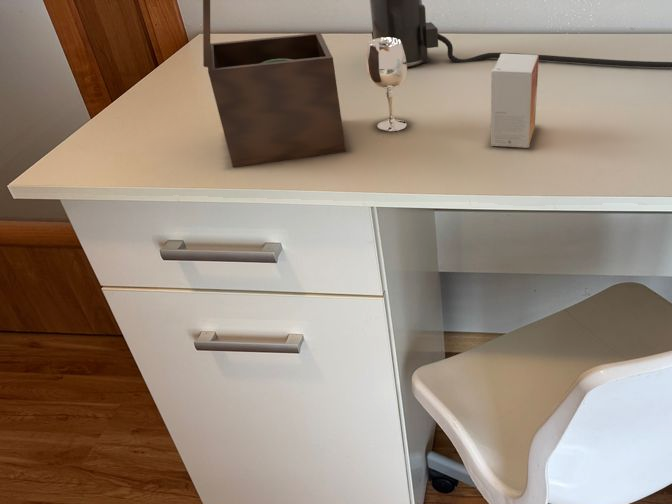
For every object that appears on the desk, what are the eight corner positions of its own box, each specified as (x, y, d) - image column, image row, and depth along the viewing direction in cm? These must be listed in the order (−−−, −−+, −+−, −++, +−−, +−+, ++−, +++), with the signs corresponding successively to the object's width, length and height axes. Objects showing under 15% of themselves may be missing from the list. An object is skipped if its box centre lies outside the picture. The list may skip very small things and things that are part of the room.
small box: (528, 149, 95) (532, 72, 88) (489, 146, 95) (490, 70, 89) (536, 127, 100) (539, 53, 94) (499, 125, 101) (500, 52, 95)
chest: (333, 120, 104) (320, 32, 96) (346, 151, 95) (332, 57, 87) (230, 133, 101) (207, 43, 92) (232, 167, 92) (207, 71, 83)
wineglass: (373, 119, 104) (364, 37, 96) (410, 117, 104) (404, 35, 96) (372, 134, 100) (363, 49, 92) (411, 132, 100) (405, 47, 92)
